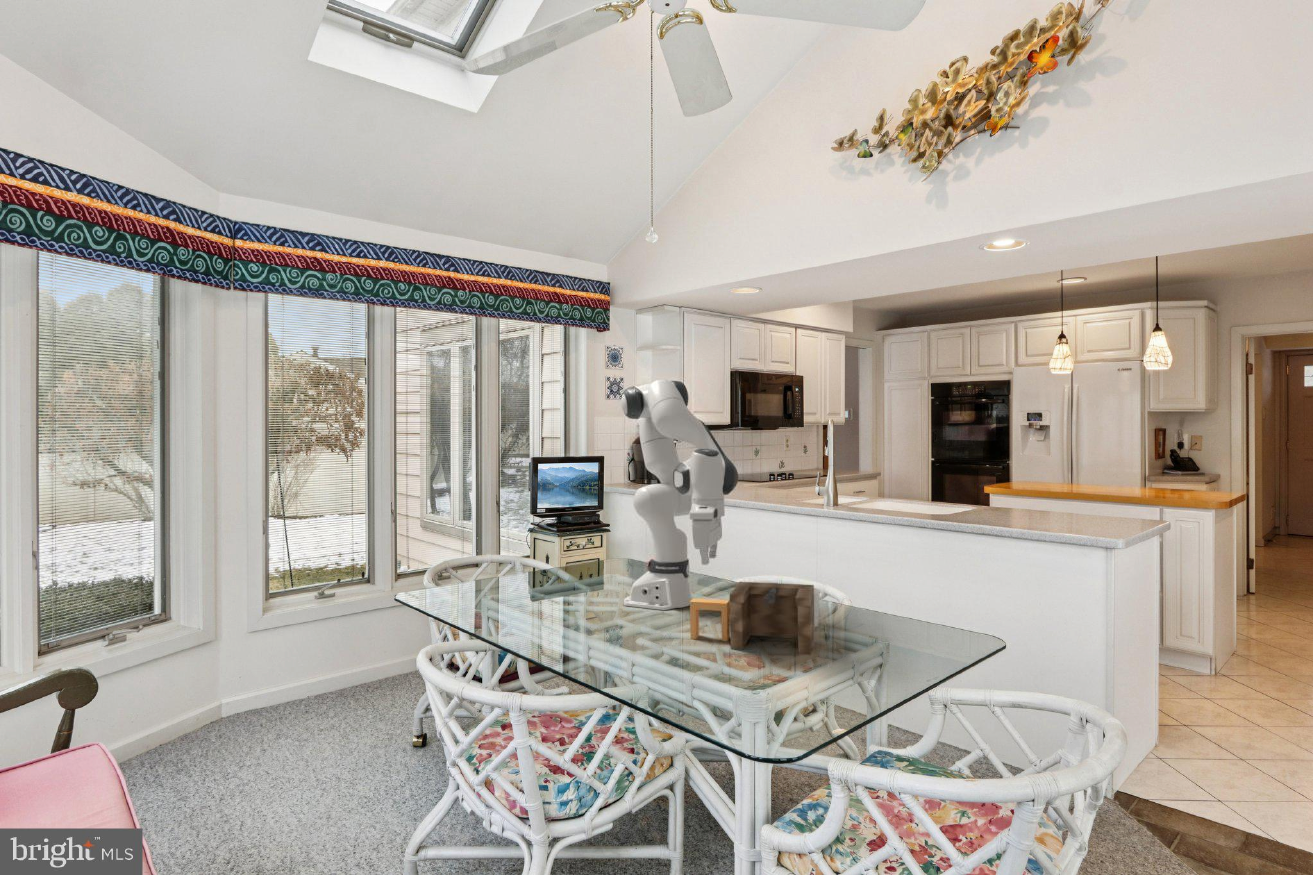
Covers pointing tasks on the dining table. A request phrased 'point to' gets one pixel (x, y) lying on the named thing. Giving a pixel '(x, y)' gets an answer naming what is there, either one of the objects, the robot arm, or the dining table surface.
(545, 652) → the dining table surface
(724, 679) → the dining table surface
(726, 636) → the wooden arch block
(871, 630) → the dining table surface
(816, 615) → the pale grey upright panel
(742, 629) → the notched shelf
